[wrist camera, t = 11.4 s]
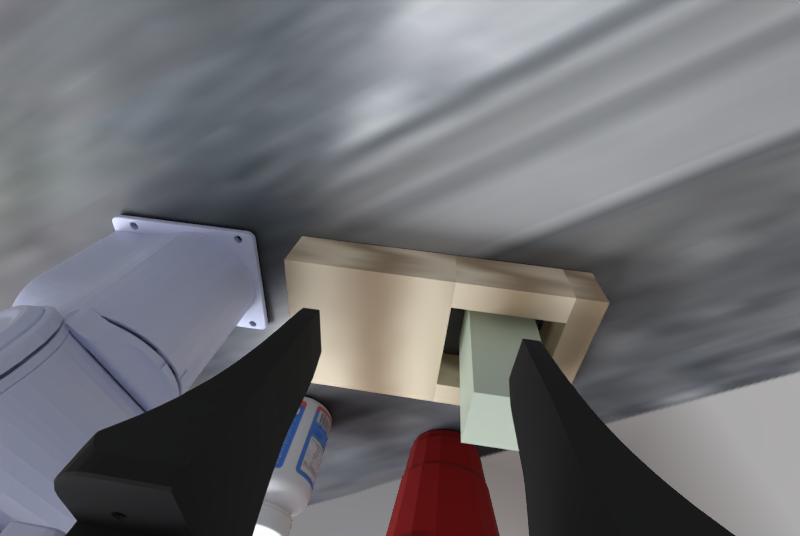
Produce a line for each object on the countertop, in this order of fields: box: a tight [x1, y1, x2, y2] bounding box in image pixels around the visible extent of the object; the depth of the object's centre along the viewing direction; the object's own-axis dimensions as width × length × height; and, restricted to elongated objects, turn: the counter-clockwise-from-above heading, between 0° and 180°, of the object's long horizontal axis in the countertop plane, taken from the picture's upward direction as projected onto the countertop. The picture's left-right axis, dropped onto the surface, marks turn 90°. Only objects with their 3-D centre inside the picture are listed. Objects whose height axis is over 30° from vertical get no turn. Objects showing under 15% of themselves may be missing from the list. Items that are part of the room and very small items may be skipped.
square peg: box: [459, 310, 541, 451], centre depth 22 cm, size 4×4×8 cm
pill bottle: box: [253, 396, 332, 536], centre depth 29 cm, size 6×5×10 cm
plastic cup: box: [386, 429, 499, 536], centre depth 29 cm, size 11×11×12 cm
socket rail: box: [284, 236, 610, 405], centre depth 25 cm, size 18×10×3 cm, turn 86°
